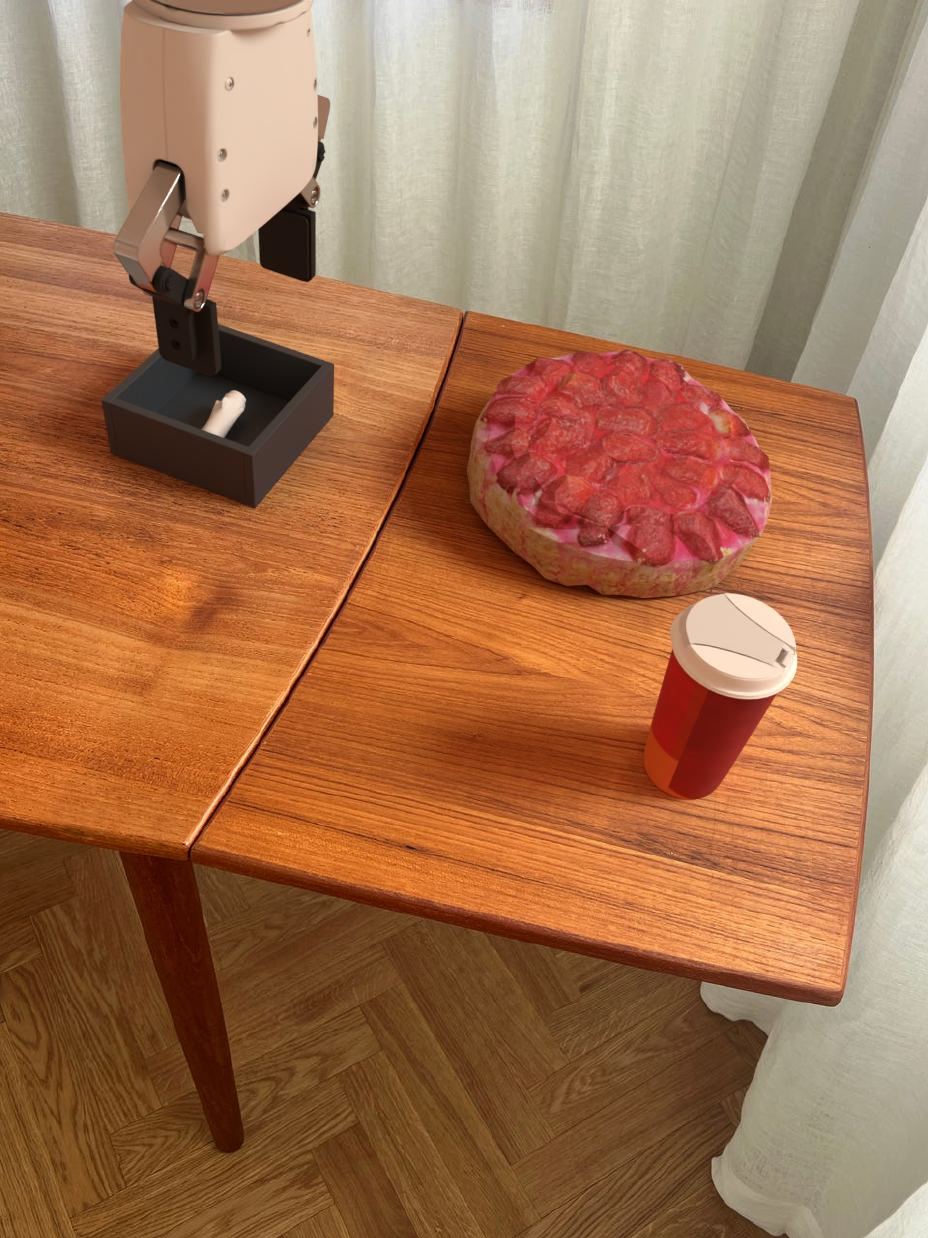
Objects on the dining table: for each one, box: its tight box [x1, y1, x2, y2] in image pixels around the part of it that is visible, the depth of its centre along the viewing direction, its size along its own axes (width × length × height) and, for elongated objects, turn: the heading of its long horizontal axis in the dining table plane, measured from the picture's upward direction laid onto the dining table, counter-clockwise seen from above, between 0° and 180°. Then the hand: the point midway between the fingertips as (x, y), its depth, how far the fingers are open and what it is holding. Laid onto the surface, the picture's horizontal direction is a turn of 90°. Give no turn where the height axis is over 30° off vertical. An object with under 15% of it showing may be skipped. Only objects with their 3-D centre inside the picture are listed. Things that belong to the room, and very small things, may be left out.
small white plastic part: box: [202, 390, 246, 438], centre depth 93 cm, size 4×6×3 cm, turn 134°
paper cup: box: [643, 592, 798, 800], centre depth 71 cm, size 8×8×14 cm
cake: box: [466, 348, 773, 599], centre depth 91 cm, size 25×25×8 cm
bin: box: [100, 323, 335, 509], centre depth 93 cm, size 14×14×6 cm
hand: (241, 316), depth 58 cm, fingers open, 9 cm apart
